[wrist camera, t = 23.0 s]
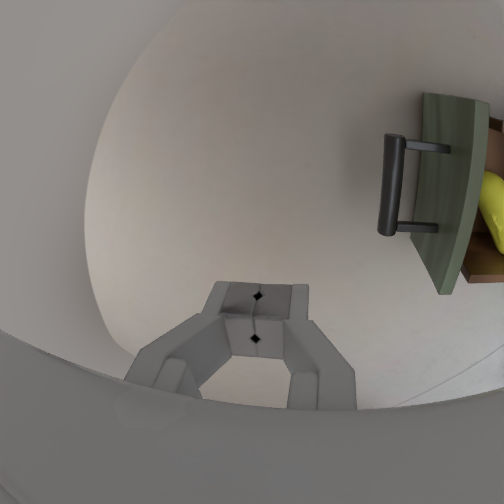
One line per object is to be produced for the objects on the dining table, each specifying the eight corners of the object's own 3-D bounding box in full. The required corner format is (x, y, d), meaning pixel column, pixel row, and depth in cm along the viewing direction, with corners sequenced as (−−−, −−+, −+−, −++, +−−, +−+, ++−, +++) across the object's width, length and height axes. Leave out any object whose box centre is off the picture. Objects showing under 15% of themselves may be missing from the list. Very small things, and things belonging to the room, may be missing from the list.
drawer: (362, 236, 25) (378, 296, 18) (367, 85, 18) (399, 83, 11) (513, 242, 21) (550, 288, 14) (535, 124, 14) (589, 149, 7)
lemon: (503, 249, 19) (488, 268, 18) (475, 170, 19) (459, 182, 18) (535, 244, 15) (525, 265, 14) (508, 157, 15) (495, 168, 14)
